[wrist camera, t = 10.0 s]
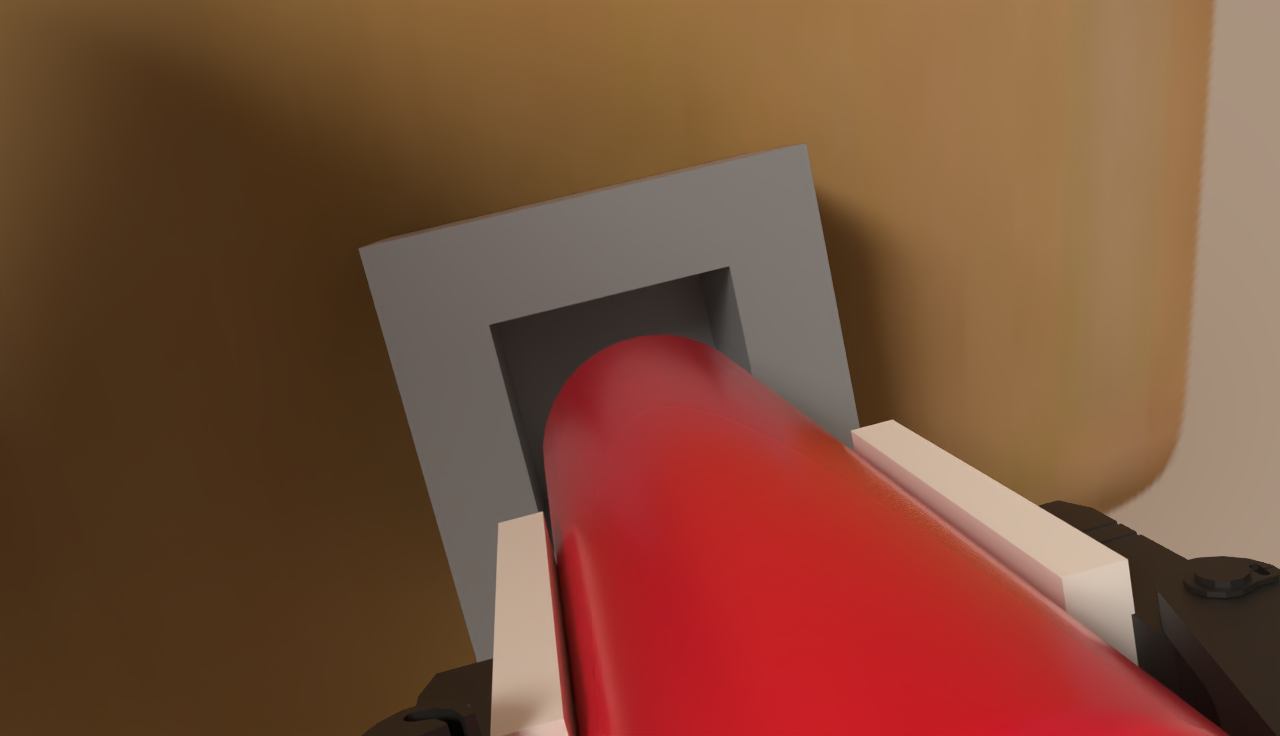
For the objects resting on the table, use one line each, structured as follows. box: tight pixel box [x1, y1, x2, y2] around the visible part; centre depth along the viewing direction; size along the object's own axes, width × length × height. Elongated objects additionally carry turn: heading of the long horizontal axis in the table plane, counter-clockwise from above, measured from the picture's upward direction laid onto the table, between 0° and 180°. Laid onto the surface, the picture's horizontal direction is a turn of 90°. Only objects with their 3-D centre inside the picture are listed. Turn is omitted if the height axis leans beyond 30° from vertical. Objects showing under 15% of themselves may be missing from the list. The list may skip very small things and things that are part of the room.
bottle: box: [543, 334, 1230, 736], centre depth 13 cm, size 5×5×20 cm
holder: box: [358, 143, 860, 662], centre depth 30 cm, size 12×12×6 cm
